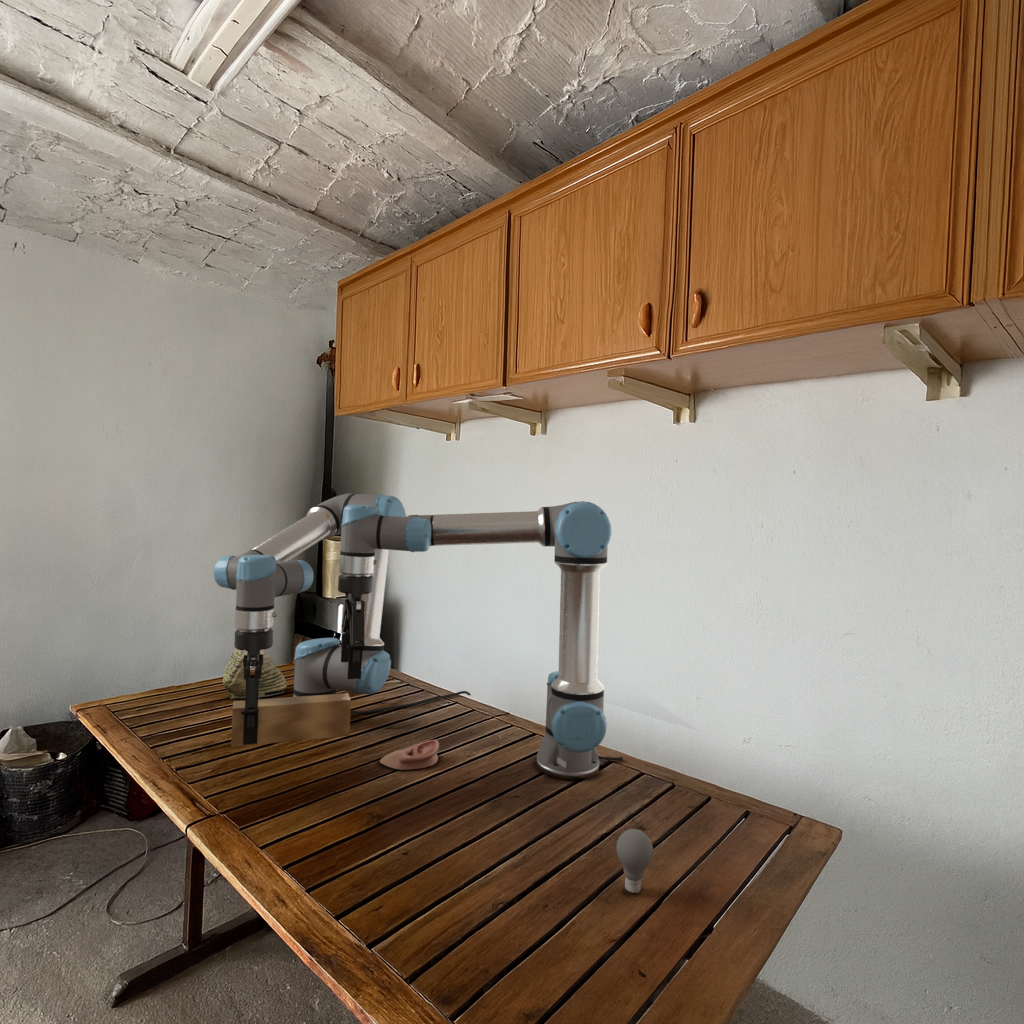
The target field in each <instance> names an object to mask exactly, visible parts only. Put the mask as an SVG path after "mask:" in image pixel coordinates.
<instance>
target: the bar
mask: <svg viewBox="0 0 1024 1024" xmlns="http://www.w3.org/2000/svg"><path fill="white" fill-rule="evenodd" d="M351 707H352V699H351V697H350V695H349V693H348V692H345V693H337V694H330V695H316V696H302V697H293V696H291V697H290V696H288V697H275V698H274V697H273V698H262V699H258V709H259V711H258V735H257V744H248V745H243V732H244V714H241V711H244V710H245V699H243V700H234V701H233V704H232V711H231V712H232V713H231V714H232V715H231V717H232V718H231V743H230V747H231V748H233V747H234V748H235V747H245V746H246V747H247V746H256V745H266V744H278V743H289V742H290V743H291V742H300V741H309V740H310V741H311V740H319V739H332V738H341V737H342V738H343V737H349V736H351V735H350V734H351V733H350V732H351V713H350V711H351V710H352V708H351Z"/></svg>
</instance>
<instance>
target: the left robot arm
mask: <svg viewBox="0 0 1024 1024" xmlns="http://www.w3.org/2000/svg"><path fill="white" fill-rule="evenodd" d="M347 505H367V506H376V507H377V509H378V515H382V516H398V517H406V516H407V514H406V509H405V507H404V505H403V502H402V501H401V500H400V499H399V498H398V497H396V496H394V495H389V494H377V493H376V494H375V493H374V494H372V493H365V494H364V493H344V494H339V495H336V496H334V497H331V498H329V499H327V500H324V501H323V502H320V503H318V504H317V505H315V506H313V507H312V508H310V509H309V510H308V512H307V513H306V516H304V517H302V518H300V519H299V520H297V521H295V522H294V523H292V524H291V525H289V526H287V527H285V528H284V529H282V530H280V531H279V532H278V533H276V534H274V535H272V536H270V537H269V538H267V539H266V540H264V541H263V542H261V543H259V544H257V545H256V546H254V547H253V548H251V549H249V550H247V551H245V552H243V553H242V554H240V555H238V556H236V555H225V556H222V557H221V558H219V559H218V561H217V562H216V563H215V565H214V568H213V579H214V580H215V583H216V584H217V585H218V586H219V587H222V588H224V589H230V590H232V591H236V592H235V593H236V596H235V598H236V599H235V609H234V628H235V629H236V630H235V631H234V648H235V650H236V649H238V650H242V651H243V650H246V651H248V652H247V655H244V656H243V666H244V679H245V680H246V694H245V698H244V700H245V710H244V711H241V714H244V732H243V745H247V746H249V745H248V744H257V735H258V711H259V709H258V699H263V697H258V695H259V692H258V689H259V679H260V678H261V675H262V665H263V654H260V650H262V649H263V650H264V651H265V650H268V649H271V648H272V647H273V645H274V629H273V627H274V618H276V617H277V616H278V613H277V612H276V611H275V609H274V608H275V598H278V597H284V596H289V595H297V594H300V593H302V592H305V591H307V590H309V589H310V588H311V587H312V584H313V583H314V577H315V576H314V569H313V568H312V566H311V564H310V563H308V562H307V561H305V560H303V559H300V560H299V559H295V558H296V557H298V556H299V555H301V554H302V553H304V552H306V551H307V550H309V549H310V548H311V547H313V546H314V545H316V544H318V543H319V542H320V541H322V540H330V539H331V538H333V537H334V536H338V535H341V528H342V526H341V524H342V519H343V511H344V508H345V507H346V506H347ZM389 554H390V550H388V549H375V556H374V560H377V564H373V566H374V572H373V573H372V574H371V576H373V591H372V592H371V593H369V594H363V595H362V600H363V601H365V607H364V643H365V647H364V648H363V652H362V668H361V679H347V676H348V662H341V649H342V639H341V640H340V639H339V638H337V637H321V638H313V639H307V640H304V641H302V642H299V643H298V644H297V645H296V647H295V652H294V653H295V654H294V658H293V660H294V670H293V671H294V672H293V695H292V697H302V696H316V695H330V694H338V691H344V692H349V693H355V694H357V695H362V694H363V695H373V694H376V693H378V692H379V691H380V690H381V689H382V688H383V687H384V685H385V684H386V682H387V680H388V678H389V676H390V672H391V666H392V659H391V656H390V655H391V654H389V653H388V652H387V651H385V642H384V641H383V640H382V639H381V636H380V635H381V628H382V627H381V626H382V617H383V609H384V600H385V591H386V583H387V573H388V565H389ZM463 694H465V695H467V696H472V694H471V693H470V692H469V691H466V690H461V691H457V692H455V693H448V694H444V695H441V696H436V697H431V698H428V699H424V700H420V701H416V702H411V703H405V704H399V705H393V706H385V707H380V708H375V709H371V710H370V709H369V710H352V709H351V711H350V714H356V715H364V714H373V713H379V712H382V711H389V710H395V709H401V708H407V707H413V706H416V705H420V704H422V705H423V704H426V703H429V702H434V701H438V700H441V699H445V698H450V697H455V696H459V695H463Z"/></svg>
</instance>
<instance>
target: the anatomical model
mask: <svg viewBox="0 0 1024 1024" xmlns="http://www.w3.org/2000/svg"><path fill="white" fill-rule="evenodd" d="M439 748H440V743H439V741H438V740H437V739H431V740H430V739H429V740H426V741H423V742H419V743H416V744H414V745H412V746H409V747H406V748H403V749H400V750H399V749H398V750H395V751H392V752H390V753H388V754H386V755H384V756H383V757H382V758H380V760H379V763H380V764H382V765H384V766H385V767H388V768H390V769H394V770H399V771H400V770H401V771H403V770H404V771H405V770H419V769H424V768H428V767H431V766H433V765H435V764H437V763H438V760H439V756H438V754H437V753H438V752H439Z"/></svg>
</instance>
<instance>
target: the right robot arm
mask: <svg viewBox="0 0 1024 1024" xmlns="http://www.w3.org/2000/svg"><path fill="white" fill-rule="evenodd" d="M341 526H342V528H341V534H340V554H339V559H338V572H339V573H340V574H339V575H338V579H337V580H338V581H337V591H338V592H339V593H342V594H344V596H345V598H344V600H343V601H344V602H343V604H344V607H343V614H342V622H341V632H342V634H341V640H342V649H341V662H348V676H347V679H361V668H362V652H363V648H364V647H365V643H364V607H365V601H363V600H362V595H363V594H369V593H371V592H372V591H373V576H371V574H372V573H373V572H374V566H373V564H377V560H374V556H375V549H388V550H389V551H399V552H400V551H401V552H402V551H403V552H411V553H419V552H421V553H422V552H423V553H425V552H427V551H428V550H429V549H430V547H433V546H434V547H436V546H438V547H439V546H467V545H469V546H470V545H500V544H503V545H504V544H506V545H507V544H535V543H536V544H537V543H538V544H539V545H540V546H542V547H545V548H546V547H554V560H553V562H554V563H555V565H556V566H557V567H558V568H559V569H560V593H559V594H560V596H559V597H560V600H559V634H558V635H559V636H558V637H559V639H558V642H559V643H558V670H557V671H556V670H555V671H552V672H550V673H549V674H548V676H547V682H546V686H547V687H546V688H547V689H546V690H547V691H546V709H545V712H546V713H545V730H544V731H545V732H544V736H543V737H542V740H541V744H540V746H539V748H538V752H537V754H536V767H537V768H538V770H539V771H540V772H541V773H543V774H545V775H547V776H550V777H553V778H557V779H563V780H585V779H589V778H592V777H594V776H596V775H597V774H598V773H599V772H600V760H603V761H623V759H624V758H623V757H622V756H617V757H615V756H602V755H600V756H599V753H598V750H597V747H598V746H599V745H600V744H601V743H602V742H603V740H604V738H605V737H606V733H607V726H608V725H607V724H608V723H607V720H606V719H607V718H606V716H605V713H604V705H605V704H604V703H605V702H604V701H605V700H604V699H605V691H604V690H605V686H604V684H603V683H602V682H601V681H600V680H599V679H598V661H599V625H600V624H599V623H600V590H601V589H600V586H601V585H600V583H601V582H600V581H601V572H602V569H604V568H605V567H606V566H607V565H608V546H609V543H610V541H611V537H612V523H611V520H610V518H609V516H608V514H607V513H606V512H605V510H604V509H603V508H601V506H599V505H597V504H595V503H593V502H591V501H584V500H582V501H572V502H568V503H565V504H559V505H554V506H553V505H551V506H541V507H539V509H538V510H535V511H532V510H531V511H507V512H505V511H503V512H502V511H501V512H479V513H478V512H477V513H475V512H474V513H449V514H447V513H445V514H444V513H443V514H409V515H406V517H398V516H382V515H378V509H377V507H376V506H367V505H347V506H346V507H345V508H344V511H343V519H342V524H341Z"/></svg>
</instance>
